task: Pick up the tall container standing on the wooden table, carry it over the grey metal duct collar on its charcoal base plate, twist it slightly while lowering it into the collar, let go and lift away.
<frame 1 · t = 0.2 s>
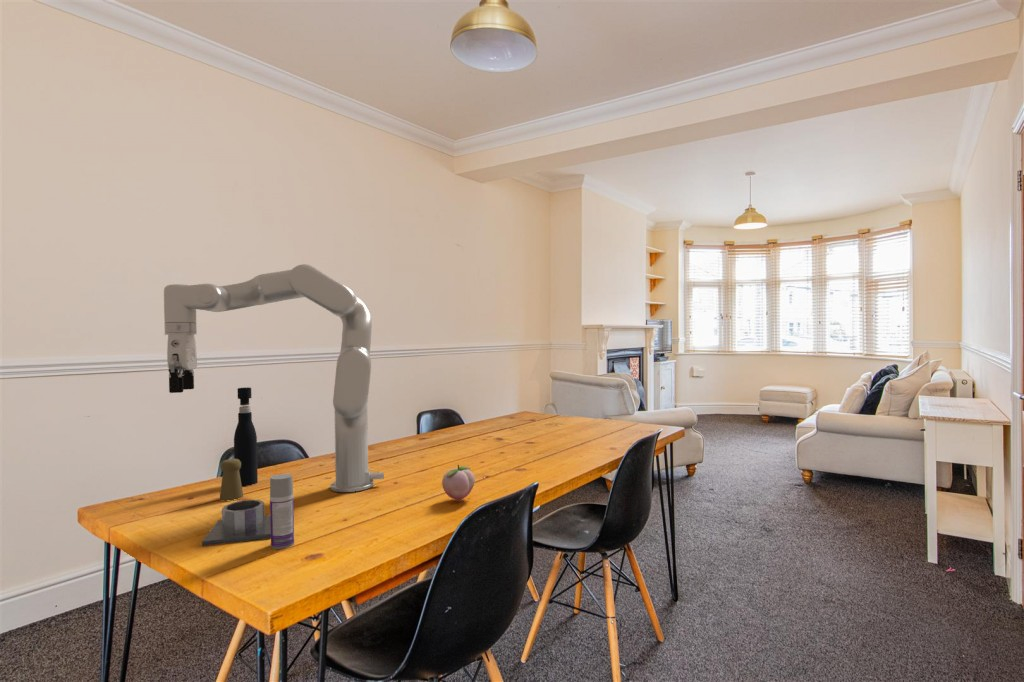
hand: (182, 390, 146), 31 cm above the table, tool pointing down, fingers open, 9 cm apart
duct collar: (243, 530, 124), on the table
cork: (231, 498, 150), on the table
decorative fruit: (457, 501, 144), on the table
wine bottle: (246, 484, 165), on the table
container: (282, 545, 115), on the table
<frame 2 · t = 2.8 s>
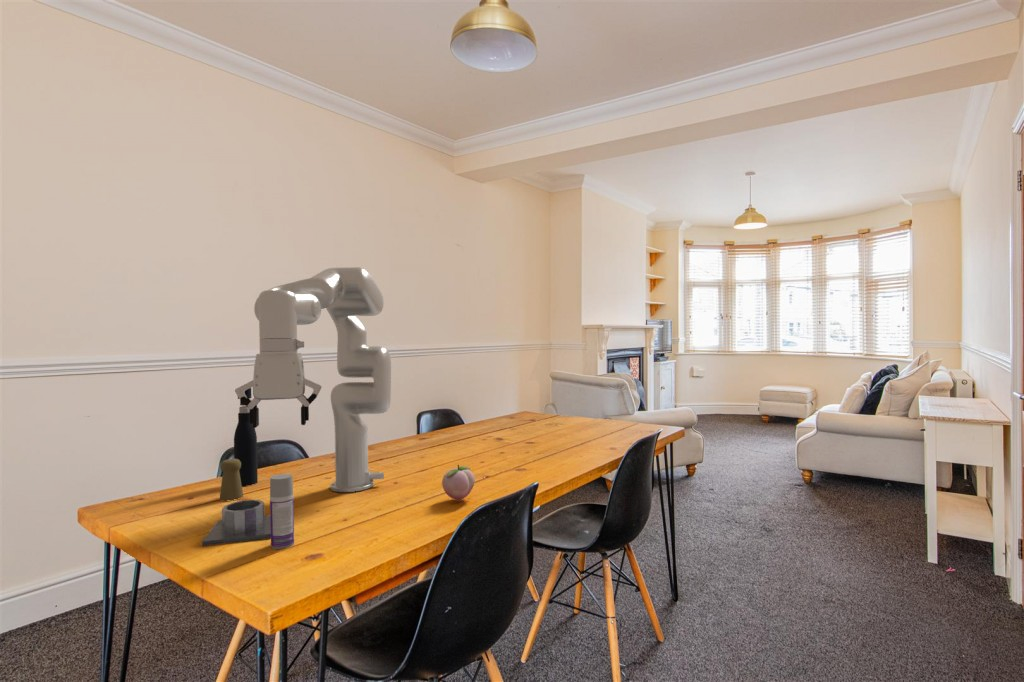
hand: (280, 425, 115), 26 cm above the table, tool pointing down, fingers open, 9 cm apart
nothing on the table moved.
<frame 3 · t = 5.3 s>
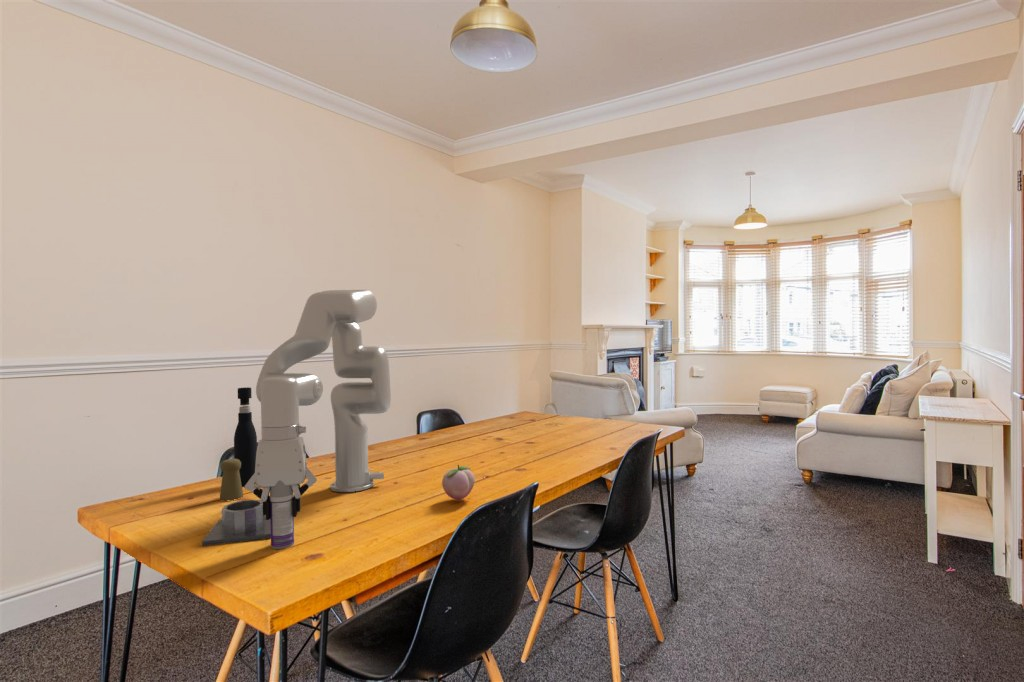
hand: (282, 515, 115), 6 cm above the table, tool pointing down, fingers closed on container, 4 cm apart
container: (282, 545, 115), on the table, touching gripper
everything else where it was.
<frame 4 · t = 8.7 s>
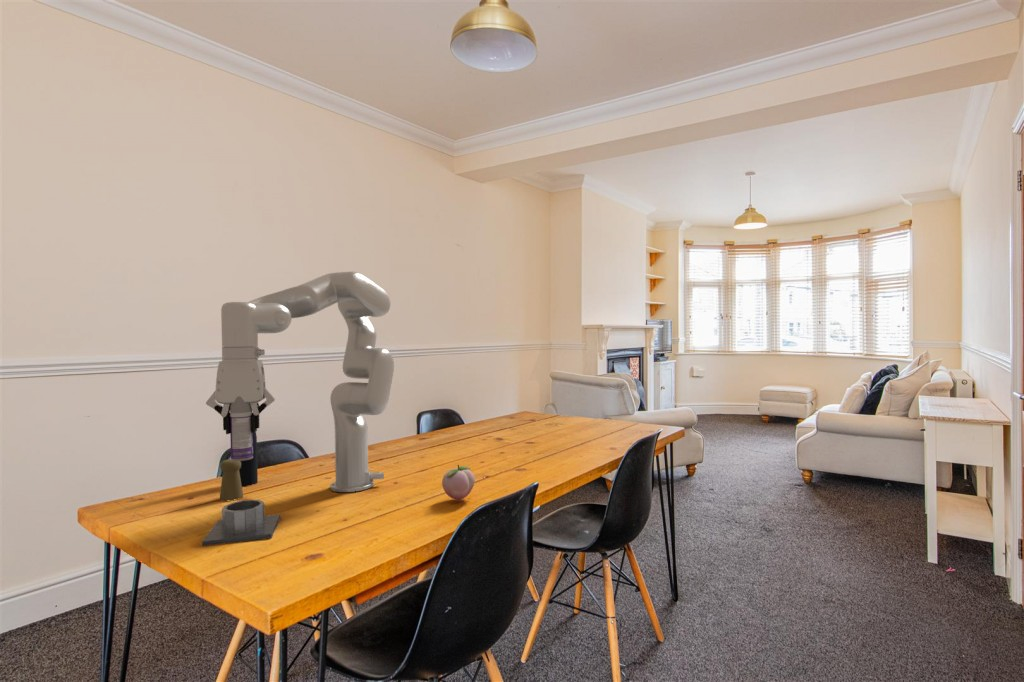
hand: (241, 431, 124), 23 cm above the table, tool pointing down, fingers closed on container, 4 cm apart
container: (242, 459, 124), point 17 cm above the table, touching gripper
everything else where it was.
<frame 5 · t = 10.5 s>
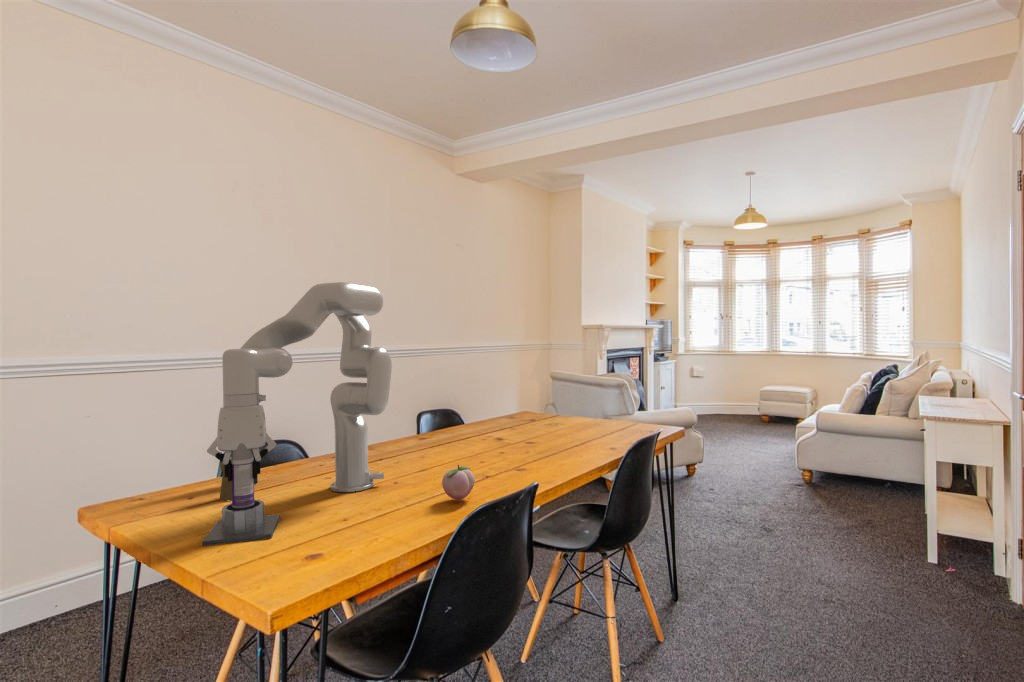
hand: (242, 477, 124), 13 cm above the table, tool pointing down, fingers closed on container, 4 cm apart
container: (243, 505, 124), point 6 cm above the table, touching gripper
everything else where it was.
when the fingers open (9 cm above the table, at t = 12.0 s): container drops 1 cm, resting on duct collar.
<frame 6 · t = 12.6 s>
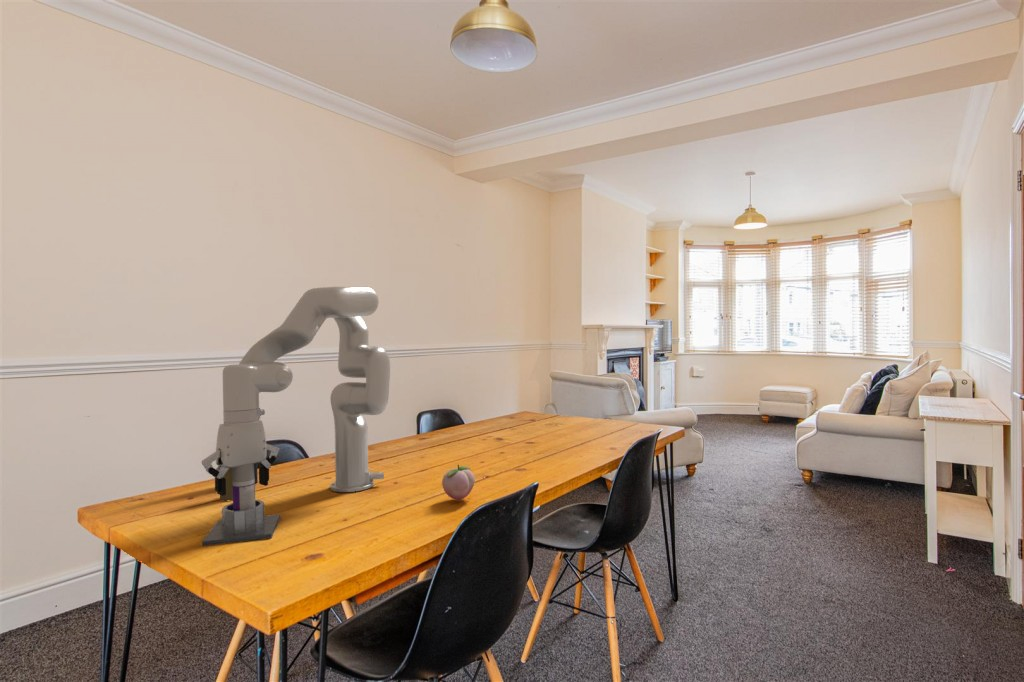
hand: (243, 489, 124), 10 cm above the table, tool pointing down, fingers open, 9 cm apart
container: (244, 527, 124), point 1 cm above the table, touching duct collar
everything else where it was.
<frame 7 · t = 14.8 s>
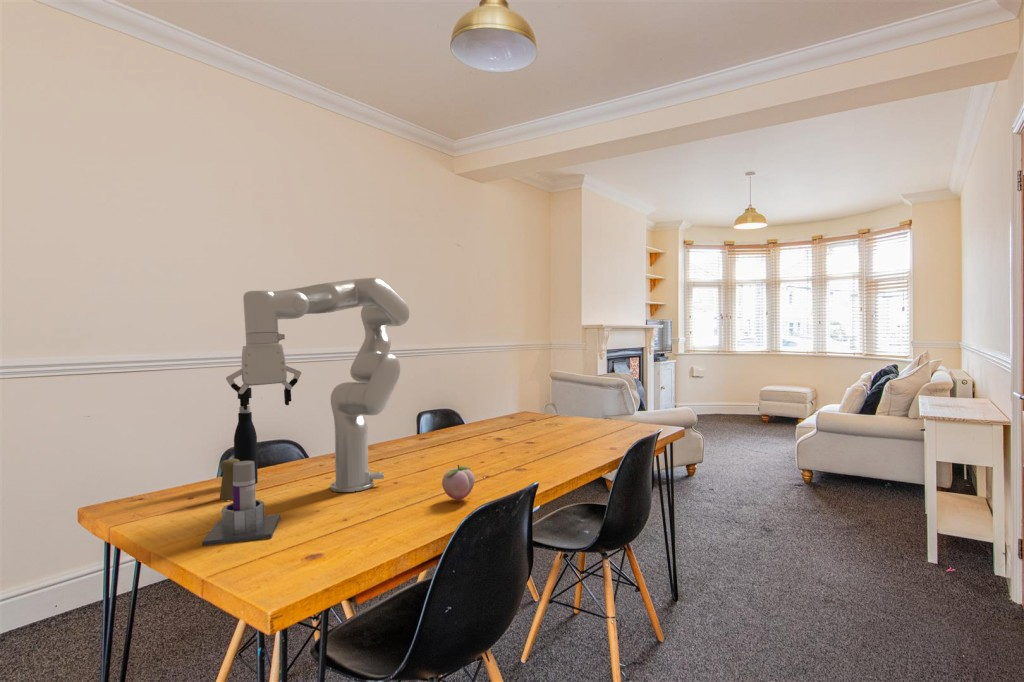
hand: (266, 406, 134), 28 cm above the table, tool pointing down, fingers open, 9 cm apart
nothing on the table moved.
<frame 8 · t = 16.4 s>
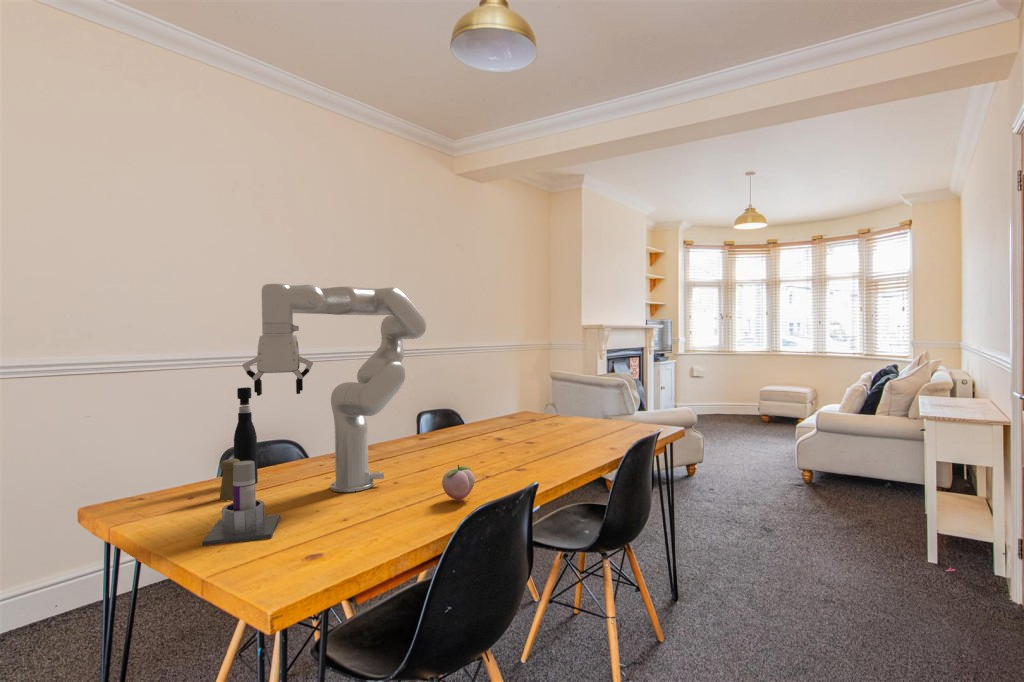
hand: (279, 394, 141), 30 cm above the table, tool pointing down, fingers open, 9 cm apart
nothing on the table moved.
at the end: container 0.3 cm off-centre on the duct collar, point 0.8 cm above the duct collar's base; container tilted 0°; the gripper is holding nothing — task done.
